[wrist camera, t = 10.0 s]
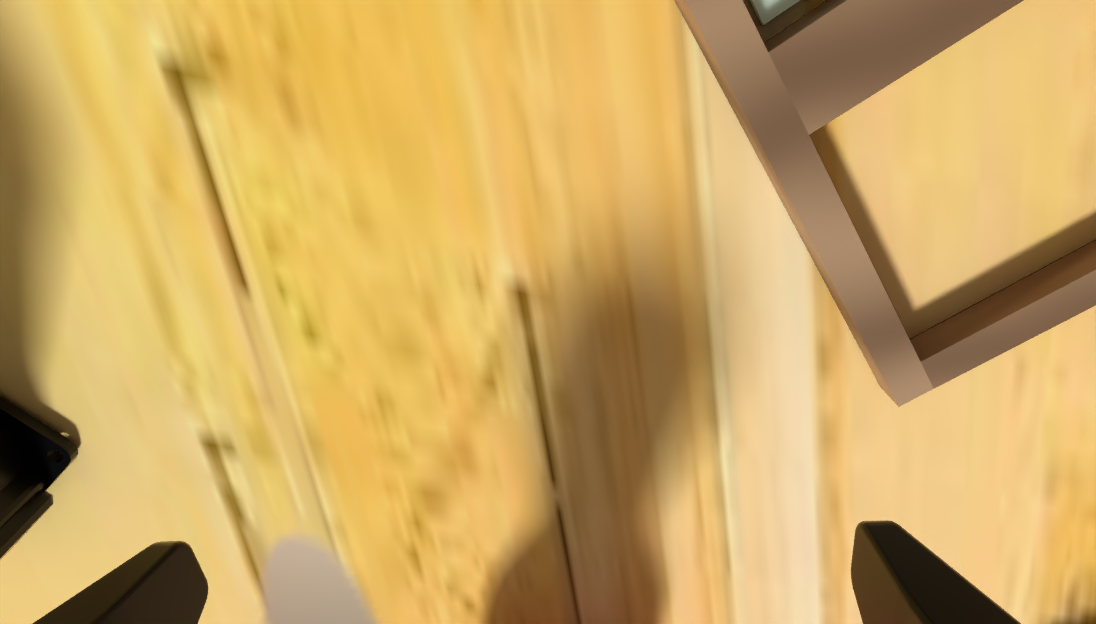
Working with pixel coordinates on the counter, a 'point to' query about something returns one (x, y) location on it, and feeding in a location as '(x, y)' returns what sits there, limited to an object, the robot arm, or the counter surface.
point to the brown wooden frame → (810, 197)
